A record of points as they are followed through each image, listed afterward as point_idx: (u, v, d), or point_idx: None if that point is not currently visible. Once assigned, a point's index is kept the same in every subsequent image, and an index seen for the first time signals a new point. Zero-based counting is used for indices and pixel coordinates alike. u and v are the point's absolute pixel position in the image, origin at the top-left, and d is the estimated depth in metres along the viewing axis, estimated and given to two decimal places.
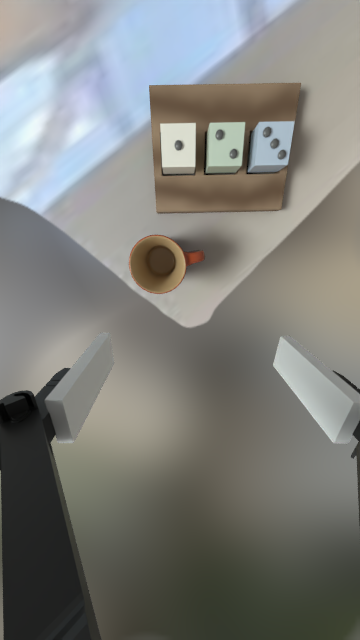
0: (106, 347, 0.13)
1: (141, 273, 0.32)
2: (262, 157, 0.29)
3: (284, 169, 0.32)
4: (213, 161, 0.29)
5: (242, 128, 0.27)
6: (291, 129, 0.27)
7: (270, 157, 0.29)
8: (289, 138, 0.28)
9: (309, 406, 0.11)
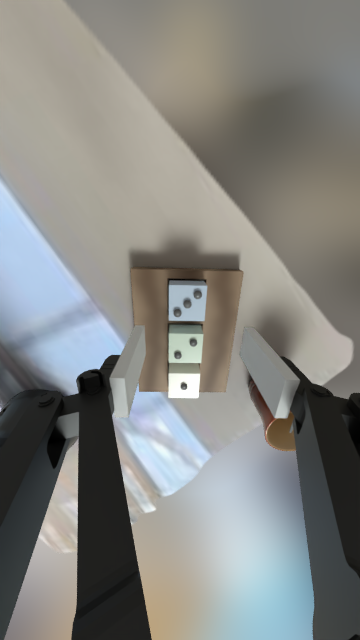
0: (142, 338, 0.15)
1: None
2: (198, 314, 0.26)
3: (203, 274, 0.27)
4: (197, 359, 0.29)
5: (173, 335, 0.28)
6: (175, 287, 0.25)
7: (198, 305, 0.26)
8: (183, 288, 0.25)
9: (260, 388, 0.13)
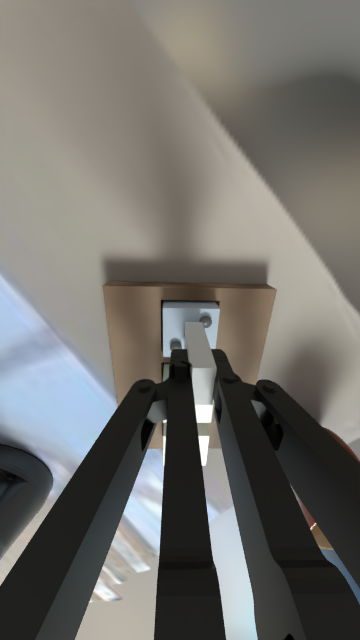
0: None
1: None
2: None
3: (214, 293, 0.18)
4: (205, 417, 0.20)
5: None
6: (173, 311, 0.17)
7: None
8: (183, 312, 0.17)
9: None
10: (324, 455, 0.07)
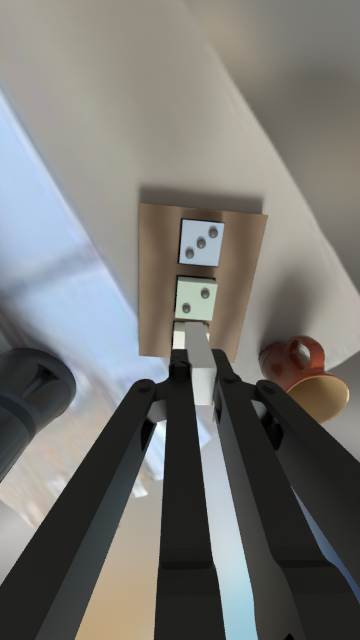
0: None
1: (307, 407, 0.28)
2: (211, 257, 0.24)
3: (221, 215, 0.24)
4: (208, 315, 0.26)
5: (183, 284, 0.24)
6: (190, 222, 0.23)
7: (213, 247, 0.24)
8: (197, 224, 0.23)
9: None
10: (324, 455, 0.07)
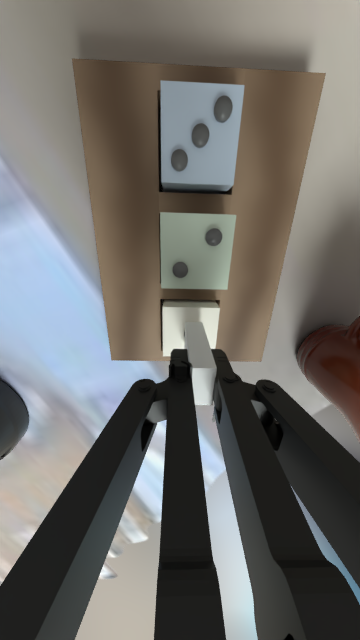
0: None
1: None
2: (221, 166, 0.13)
3: (235, 78, 0.12)
4: (220, 280, 0.14)
5: (170, 218, 0.13)
6: (175, 87, 0.11)
7: (223, 143, 0.12)
8: (191, 92, 0.11)
9: None
10: (324, 455, 0.07)
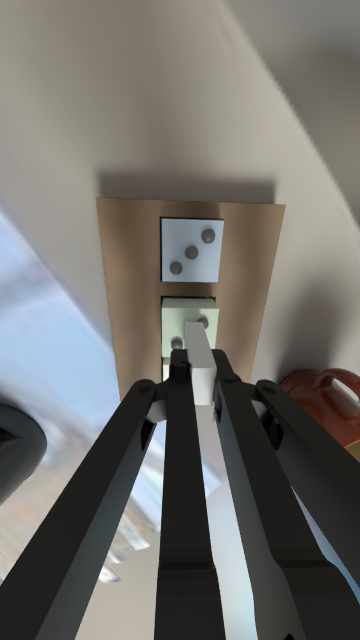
0: None
1: None
2: (208, 270, 0.17)
3: (218, 208, 0.16)
4: None
5: (169, 311, 0.17)
6: (173, 222, 0.15)
7: (209, 256, 0.16)
8: (184, 225, 0.15)
9: None
10: (324, 455, 0.07)
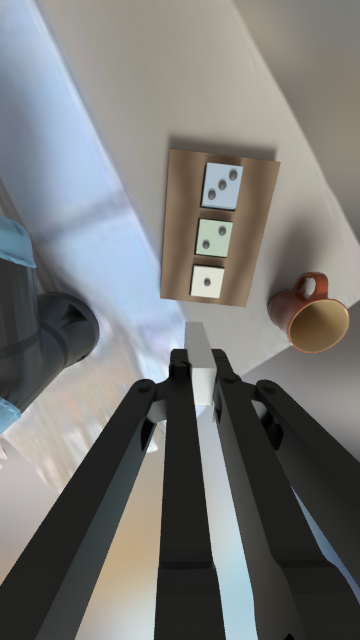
0: None
1: (311, 339, 0.31)
2: (230, 199, 0.28)
3: (240, 161, 0.28)
4: (223, 251, 0.31)
5: (204, 221, 0.29)
6: (213, 165, 0.27)
7: (232, 189, 0.28)
8: (220, 167, 0.27)
9: None
10: (324, 455, 0.07)
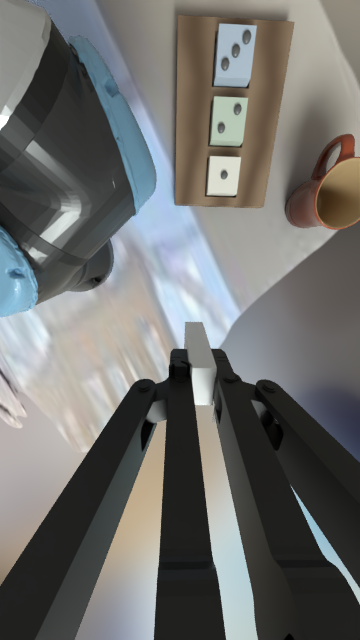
0: None
1: (337, 220, 0.30)
2: (245, 68, 0.27)
3: (252, 24, 0.26)
4: (239, 135, 0.30)
5: (218, 99, 0.28)
6: (225, 26, 0.25)
7: (246, 55, 0.26)
8: (232, 29, 0.25)
9: None
10: (324, 455, 0.07)
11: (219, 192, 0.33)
